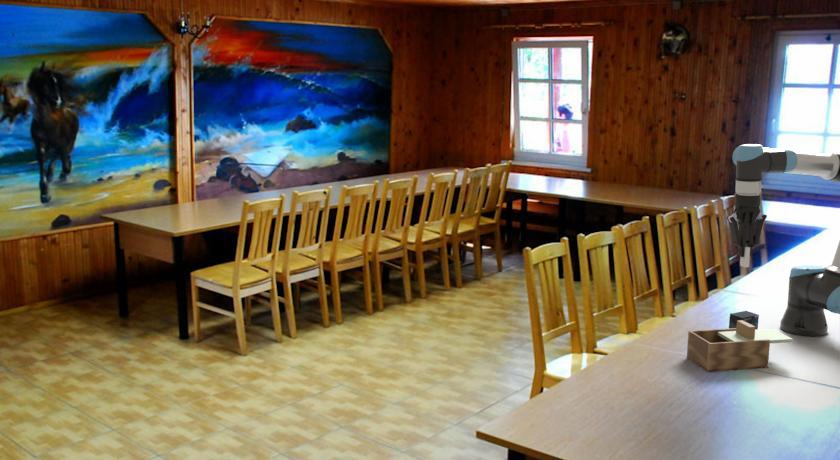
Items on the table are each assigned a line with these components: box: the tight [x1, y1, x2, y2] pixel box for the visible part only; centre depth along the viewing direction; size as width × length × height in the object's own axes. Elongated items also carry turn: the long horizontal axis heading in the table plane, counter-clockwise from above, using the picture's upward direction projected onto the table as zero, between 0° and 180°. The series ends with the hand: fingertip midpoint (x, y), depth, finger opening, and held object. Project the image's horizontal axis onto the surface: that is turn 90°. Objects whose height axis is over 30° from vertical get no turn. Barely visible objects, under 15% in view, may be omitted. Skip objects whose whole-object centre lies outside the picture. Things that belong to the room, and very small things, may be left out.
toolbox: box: [686, 327, 771, 373], centre depth 253 cm, size 20×13×9 cm, turn 100°
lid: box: [718, 320, 794, 344], centre depth 254 cm, size 19×11×5 cm, turn 100°
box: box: [728, 310, 760, 329], centre depth 271 cm, size 8×6×11 cm
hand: (744, 266), depth 260 cm, fingers closed
